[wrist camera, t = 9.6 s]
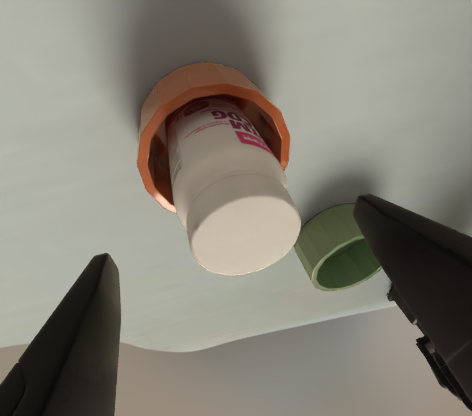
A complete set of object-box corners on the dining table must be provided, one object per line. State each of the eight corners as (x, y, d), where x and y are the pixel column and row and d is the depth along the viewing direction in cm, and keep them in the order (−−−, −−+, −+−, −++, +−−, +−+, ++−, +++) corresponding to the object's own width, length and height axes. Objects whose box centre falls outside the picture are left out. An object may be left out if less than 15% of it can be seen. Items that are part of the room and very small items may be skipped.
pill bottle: (254, 93, 15) (331, 180, 9) (243, 168, 18) (295, 274, 12) (162, 90, 14) (176, 189, 7) (168, 172, 17) (181, 291, 10)
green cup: (379, 195, 23) (408, 223, 21) (359, 251, 28) (380, 279, 25) (298, 214, 22) (318, 246, 20) (292, 268, 27) (307, 299, 24)
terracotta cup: (267, 52, 14) (295, 71, 11) (266, 172, 19) (285, 204, 16) (119, 73, 13) (112, 99, 10) (159, 194, 18) (161, 232, 15)
